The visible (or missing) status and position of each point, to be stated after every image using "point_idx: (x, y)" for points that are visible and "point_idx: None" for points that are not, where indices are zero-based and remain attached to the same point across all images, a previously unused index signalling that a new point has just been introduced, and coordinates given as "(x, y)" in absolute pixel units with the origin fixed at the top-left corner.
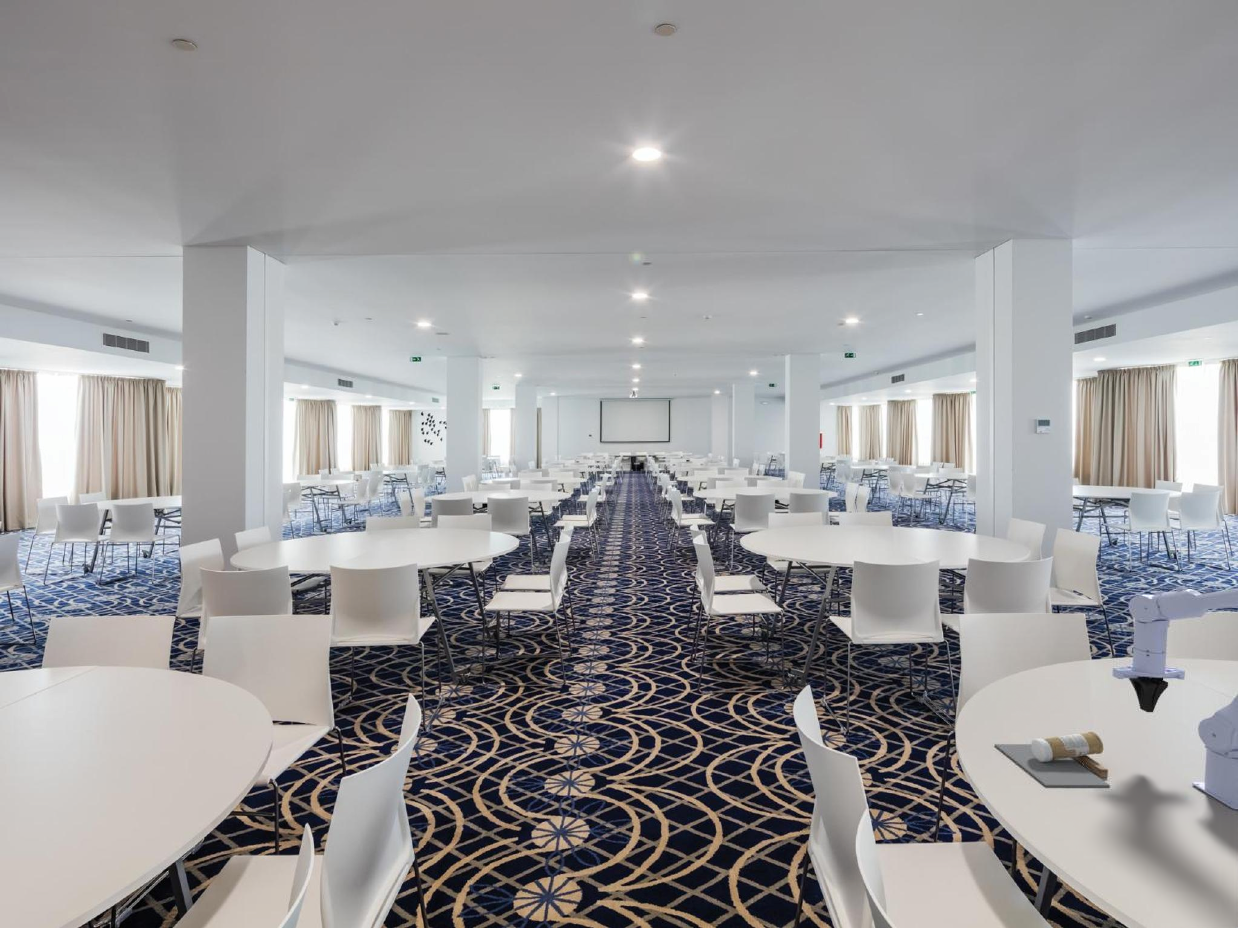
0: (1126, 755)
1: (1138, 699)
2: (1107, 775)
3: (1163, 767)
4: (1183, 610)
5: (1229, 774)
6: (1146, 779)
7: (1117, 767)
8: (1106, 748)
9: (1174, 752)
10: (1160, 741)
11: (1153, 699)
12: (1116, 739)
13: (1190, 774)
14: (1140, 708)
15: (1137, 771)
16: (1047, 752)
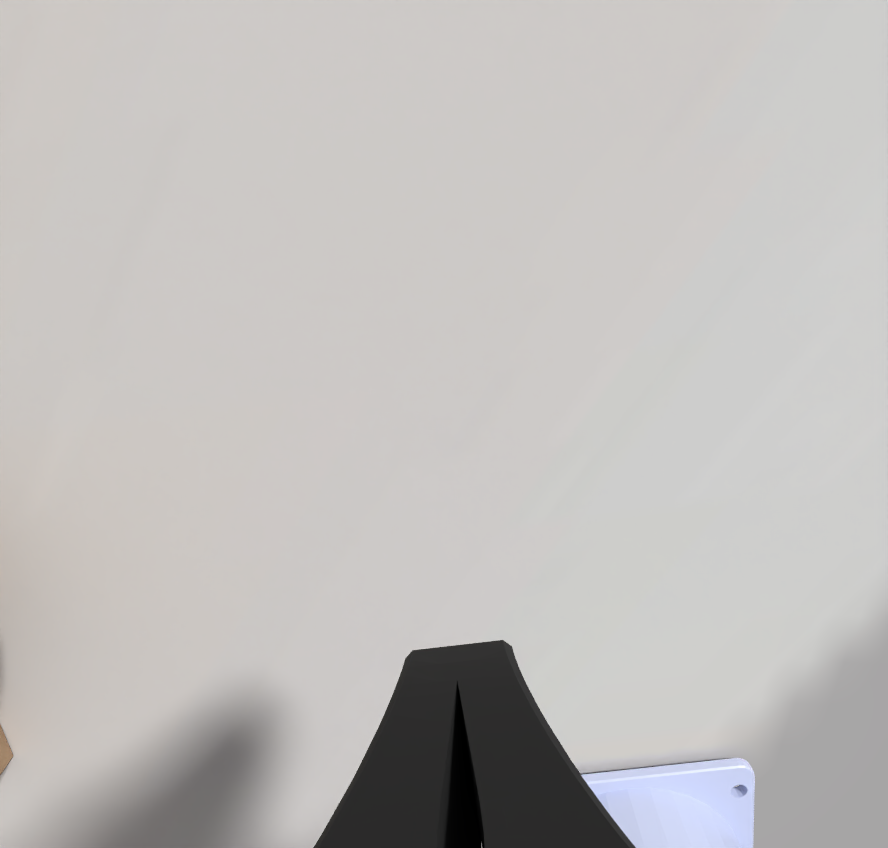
0: (316, 423)
1: (372, 750)
2: (7, 763)
3: (483, 582)
4: None
5: None
6: (254, 750)
7: (142, 624)
8: (212, 309)
9: (779, 307)
10: (846, 60)
11: None
12: (417, 75)
13: (602, 654)
14: (406, 663)
15: (255, 660)
16: None
